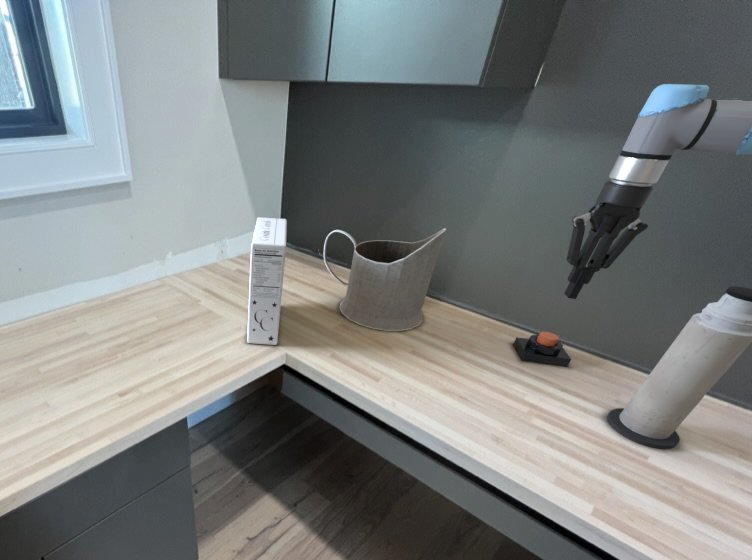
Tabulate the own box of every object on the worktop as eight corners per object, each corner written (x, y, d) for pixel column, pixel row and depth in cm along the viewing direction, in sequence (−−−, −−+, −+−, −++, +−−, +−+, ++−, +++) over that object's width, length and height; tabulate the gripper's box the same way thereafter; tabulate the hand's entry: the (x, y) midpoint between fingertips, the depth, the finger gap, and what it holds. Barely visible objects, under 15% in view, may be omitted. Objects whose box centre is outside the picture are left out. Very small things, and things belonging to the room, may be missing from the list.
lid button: (551, 340, 103) (555, 332, 102) (557, 348, 100) (561, 340, 98) (533, 337, 104) (537, 330, 102) (539, 345, 100) (542, 338, 99)
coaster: (657, 416, 85) (660, 413, 85) (690, 453, 77) (693, 450, 76) (597, 407, 87) (599, 404, 87) (622, 442, 79) (624, 439, 78)
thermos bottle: (659, 417, 84) (766, 285, 67) (678, 443, 78) (801, 305, 61) (612, 408, 86) (706, 278, 69) (627, 433, 80) (734, 297, 63)
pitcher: (408, 339, 108) (438, 242, 94) (300, 307, 122) (311, 218, 108) (431, 308, 124) (459, 221, 109) (333, 282, 138) (346, 202, 123)
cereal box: (253, 306, 122) (257, 217, 107) (278, 307, 122) (286, 218, 107) (246, 343, 105) (251, 243, 90) (277, 345, 104) (286, 245, 90)
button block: (555, 350, 106) (563, 336, 104) (567, 367, 100) (575, 352, 97) (512, 344, 108) (519, 330, 105) (521, 360, 102) (528, 346, 99)
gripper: (658, 181, 82) (595, 293, 96) (584, 176, 85) (533, 286, 99) (680, 189, 76) (609, 307, 90) (600, 183, 79) (543, 299, 93)
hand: (569, 296), depth 94 cm, fingers closed
